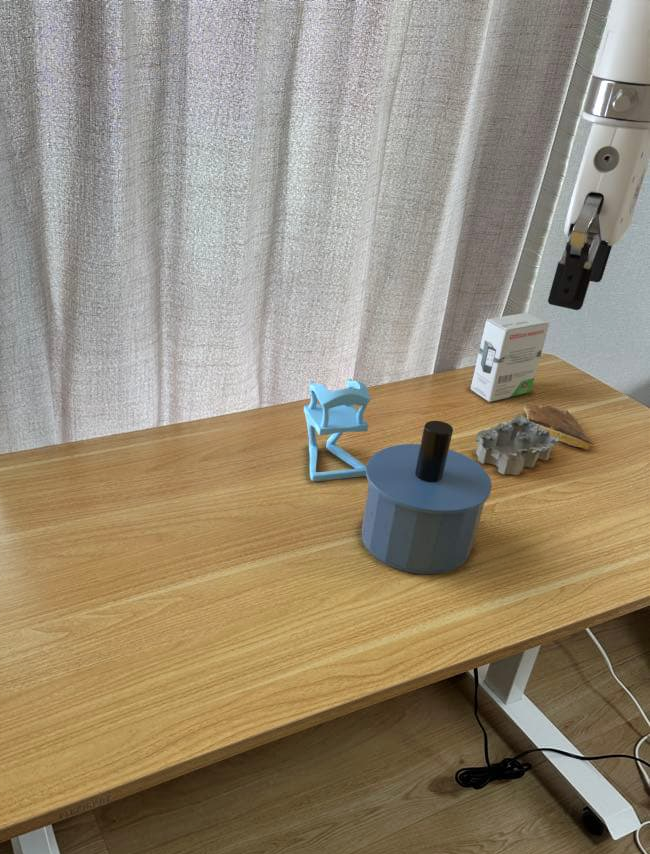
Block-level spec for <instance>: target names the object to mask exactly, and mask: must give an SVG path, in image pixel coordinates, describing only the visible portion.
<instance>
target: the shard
mask: <svg viewBox="0 0 650 854" xmlns="http://www.w3.org/2000/svg"><path fill="white" fill-rule="evenodd" d="M523 410H524V411H525V413H526V419H527V420H528V421H529V422H531V423H532V422H534V423H535V424H536V425H538V426H540V427H541V428H542V429H543V430H548V431H549V434H550V436H551V437H553V438H555V437H558V438H559V440H558V441H557V442H561V443H564V444H566V445H569V446H572V447H575V448H580V449H584V450H587V451H588V450H590V447H591V446H594V443H593V442H592V441H591V440H590V438H589V437H588V436H587V435H586V433H585V432H584V430H583V428H582V427H581V425H580V424H579V422H578V420H577V419H576V418H575V417H574V415H572V414H571V413H570V411H569V410H568V409H565V408H561V407H558V406H555V405H534V404H525V405H524V406H523Z"/></svg>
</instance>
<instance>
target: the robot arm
mask: <svg viewBox="0 0 650 854" xmlns="http://www.w3.org/2000/svg"><path fill="white" fill-rule="evenodd" d="M596 57H597V58H596V61H595V65H594V70H593V72H592V77H591V80H590V84H589V88H588V92H587V95H586V99H585V103H584V107H583V111H582V114H581V118H583V120H586V121H589V122H591V123H592V124H591V128H590V132H589V134H588V138H587V140H586V141H587V142H586V144H585V147H584V152H583V155H582V159H581V162H580V166H579V169H578V172H577V176H576V179H575V183H574V187H573V191H572V194H571V198H570V202H569V205H568V210H567V215H566V219H565V222H564V228H563V233H564V235H565V236H566V237H567V239H566V243H565V246H564V248H563V251H562V253H561V255H560V259H559V261H558V262H557V266H556V269H555V272H554V276H553V280H552V284H551V286H550V287H551V288H550V291H549V295H548V298H547V303H548V304H549V305H551V306H556V307H561V308H563V309H564V308H565V309H568V310H569V309H570V310H574V311H579V310H581V309H582V307H583V306H584V302H585V299H586V296H587V292H588V289H589V285H590V282H592V283H600V282H601V281H602V279H603V278H604V277H603V276H604V273H605V271H606V267H607V264H608V260H609V257H610V254H611V250H612V248H613V246H614V245H616V244H617V243H618V242H620V240H621V239H622V238H623V236H624V235H625V233H626V232H627V231H628V229H629V228H630V226H631V223H632V220H633V217H634V213H635V209H636V205H637V203H638V199H639V195H640V193H641V192H640V191H641V189H642V185H643V182H644V179H645V175H646V172H647V168H648V165H649V161H650V0H611V4H610V8H609V12H608V15H607V20H606V23H605V28H604V31H603V35H602V39H601V42H600V46H599V49H598V53H597V56H596Z"/></svg>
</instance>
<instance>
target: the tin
mask: <svg viewBox="0 0 650 854" xmlns="http://www.w3.org/2000/svg"><path fill="white" fill-rule="evenodd" d="M484 506H485V502H484V503H483V504H482V505H481V506H479V507H477V508H475V509H473V510H470V511H467V512H463V513H457V514H430V513H424V512H419V511H414V510H411V509H407V508H404V507H402V506H399V505H397V504H395V503H393V502H390V501H389V500H387V499H385V498H384V497H382V496H381V495H380V494H378V493H377V492H376V491H375V490H374V489H373V488H372V486H371V485H370V483H369V482H368V487H367V495H366V501H365V507H364V512H363V519H362V527H361V539H362V543H363V545H364V546H365V548H366V550H367V551H368V552H369V553H370V554H371V555H372V556H373V557H374V558H375V559H377V560H378V561H380V562H381V563H383V564H385V565H387V566H388V567H391V568H392V569H393V568H394V569H396V570H399V571H403V572H407V573H411V574H418V575H437V574H439V575H440V574H444V573H448V572H451V571H454V570H456V569H457V568H460V567H461V566H462V565H463V564H464V563H465V562H466V561H467V560H468V559H469V556H470V553H471V552H472V550H473V546H474V543H475V539H476V535H477V531H478V529H479V524H480V520H481V517H482V513H483V509H484Z"/></svg>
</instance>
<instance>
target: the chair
mask: <svg viewBox="0 0 650 854" xmlns="http://www.w3.org/2000/svg"><path fill="white" fill-rule="evenodd" d="M346 381H347V384H346V386H347V387H346V388H342V389H338V390H329V389H328V388H326V386H325V385H324V384H323V383H315V381H309V393H310V403H309V404H306V405H304V406H303V413H304V416H305V421H306V427H307V434H308V441H309V442H308V443H309V444H308V451H309V476H310V477H309V478H310V480H311V481H312V482H323V481H331V480H332V481H333V480H340V479H350V478H359V477H367V476H366V468H367V465H365V464H364V463H363V462H362V461H360V460H359V459H357V458H356V457H355V456H353V455H352V454H350V453H348V452H347V451H346V450H344V449H343V448H342V447H340V446H339V445H338V444H337V442H338V440H339V439H340V437H342V435H343V434H344V433H349V432H350V433H361V432H368V430H369V424H368V423H367V421H366V420H365V419H364V413H365V410H366V409H367V407H368V405H369V403H370V401H371V396H370V391H369V389H368V387H367V385H366V384H365V383H364V382H362V381H358V380H353V379H351V378H347V380H346ZM318 402H319V404H318ZM355 406H360V407H359V408H358V410H357V409H356V407H355ZM316 432H317V434H318V435H319V436H329V435H330V437H329V438H328V439H327V440H326V445H325V448H326V449H327V450H328V451H329V452H331V454H333V455H334V456H336V457H337V458H339V459H340V460H341V461H343V462H345V463H346V464H348V465H349V466H350V467H352V468H350V469H341V470H330V471H320V472H317V462H318V442H317V436H316Z"/></svg>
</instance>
